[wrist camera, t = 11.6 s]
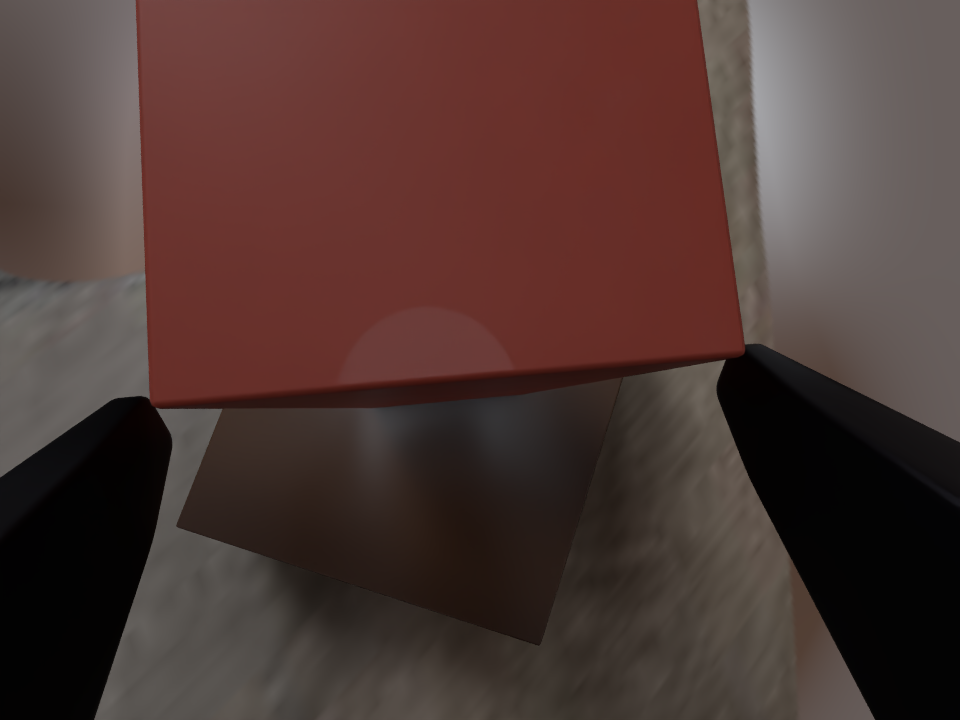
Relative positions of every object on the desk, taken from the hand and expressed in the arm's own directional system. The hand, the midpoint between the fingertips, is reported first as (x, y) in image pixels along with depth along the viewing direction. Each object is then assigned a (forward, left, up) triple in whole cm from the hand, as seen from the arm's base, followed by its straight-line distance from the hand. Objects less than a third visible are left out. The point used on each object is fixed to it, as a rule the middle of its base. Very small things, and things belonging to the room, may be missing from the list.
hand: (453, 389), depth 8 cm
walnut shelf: (0, +1, -13) cm, 13 cm away
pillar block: (+2, +1, -9) cm, 9 cm away
